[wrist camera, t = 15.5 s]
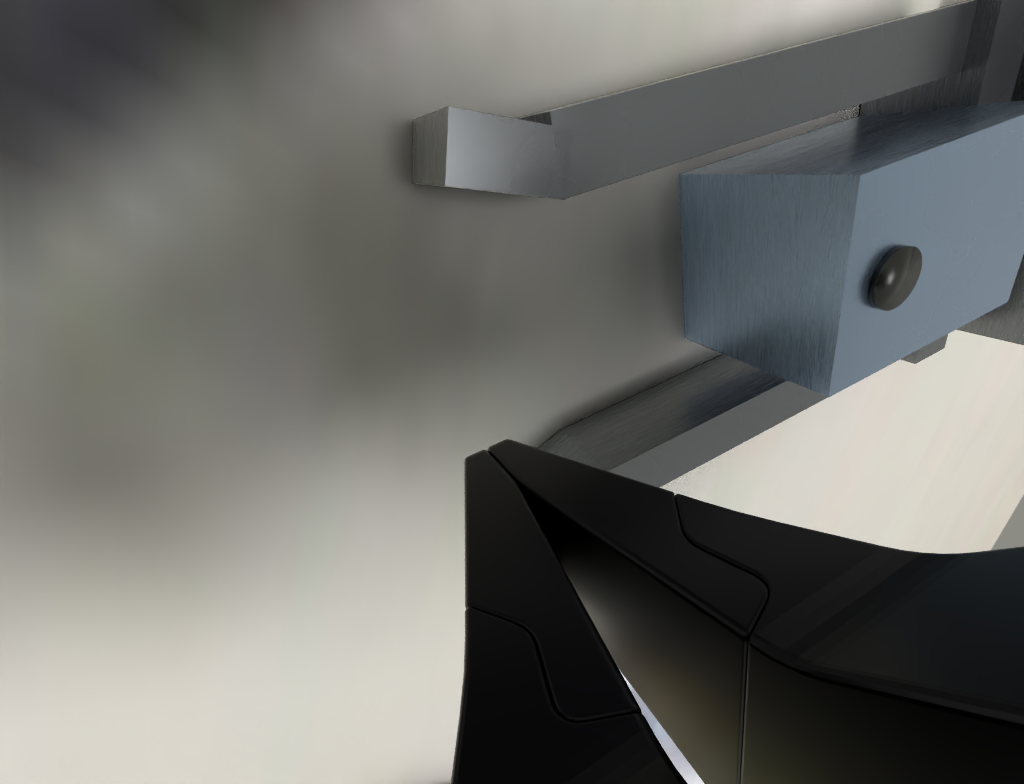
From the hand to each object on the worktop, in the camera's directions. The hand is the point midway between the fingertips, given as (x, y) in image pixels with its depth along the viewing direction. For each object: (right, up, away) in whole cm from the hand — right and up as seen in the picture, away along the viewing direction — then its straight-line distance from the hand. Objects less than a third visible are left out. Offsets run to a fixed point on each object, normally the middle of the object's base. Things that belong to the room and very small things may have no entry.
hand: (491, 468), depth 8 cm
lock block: (+9, +7, +7) cm, 13 cm away
